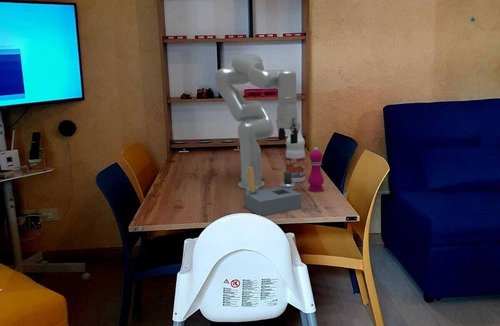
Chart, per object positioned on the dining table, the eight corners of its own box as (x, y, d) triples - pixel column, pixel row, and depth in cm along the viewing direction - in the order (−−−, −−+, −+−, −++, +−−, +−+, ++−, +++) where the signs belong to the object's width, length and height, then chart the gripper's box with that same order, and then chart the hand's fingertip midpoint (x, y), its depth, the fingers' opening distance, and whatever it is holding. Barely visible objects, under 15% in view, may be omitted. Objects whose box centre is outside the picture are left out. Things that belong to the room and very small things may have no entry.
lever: (251, 193, 198) (249, 193, 199) (255, 192, 198) (254, 192, 200) (248, 167, 197) (246, 167, 198) (253, 167, 198) (251, 166, 199)
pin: (277, 198, 212) (277, 171, 209) (290, 195, 215) (290, 169, 212) (285, 202, 206) (285, 174, 204) (298, 199, 209) (298, 172, 206)
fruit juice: (307, 178, 242) (307, 123, 236) (302, 183, 234) (302, 126, 227) (288, 177, 246) (288, 122, 239) (283, 182, 237) (283, 125, 231)
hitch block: (244, 206, 202) (243, 187, 200) (283, 199, 210) (283, 181, 208) (260, 216, 190) (259, 196, 188) (301, 208, 198) (301, 188, 196)
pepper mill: (322, 187, 226) (322, 145, 222) (325, 191, 219) (325, 148, 215) (306, 187, 226) (306, 146, 222) (309, 192, 219) (309, 149, 215)
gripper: (269, 100, 207) (270, 139, 210) (290, 103, 192) (291, 145, 195) (284, 98, 210) (284, 137, 214) (306, 101, 195) (306, 143, 199)
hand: (287, 141), depth 205 cm, fingers open, 9 cm apart
